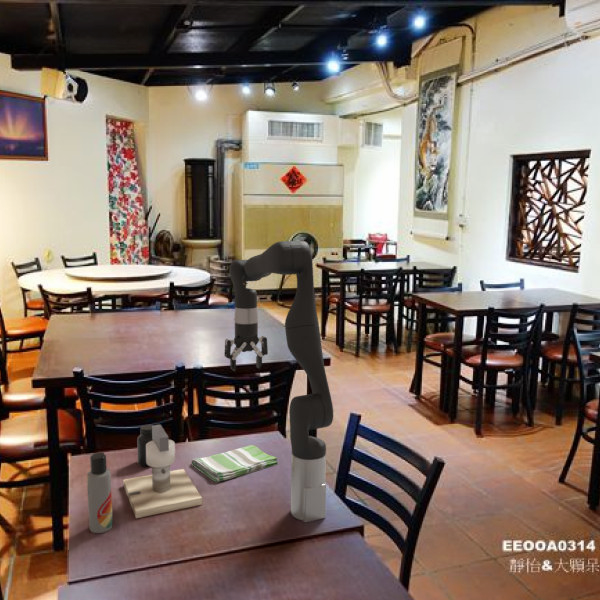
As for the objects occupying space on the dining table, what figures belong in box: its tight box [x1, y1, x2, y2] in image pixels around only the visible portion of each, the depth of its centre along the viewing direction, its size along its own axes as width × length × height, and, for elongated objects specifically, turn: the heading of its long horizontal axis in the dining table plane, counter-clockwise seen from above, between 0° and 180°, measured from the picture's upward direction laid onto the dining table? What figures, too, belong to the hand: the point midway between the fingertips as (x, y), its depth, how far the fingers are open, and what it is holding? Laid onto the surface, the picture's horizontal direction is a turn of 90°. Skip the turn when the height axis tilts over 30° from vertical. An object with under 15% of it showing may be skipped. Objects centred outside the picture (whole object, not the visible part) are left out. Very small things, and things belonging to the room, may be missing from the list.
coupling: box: [146, 424, 176, 468], centre depth 167 cm, size 10×8×9 cm
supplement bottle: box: [136, 424, 153, 468], centre depth 190 cm, size 7×7×12 cm
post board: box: [122, 465, 203, 519], centre depth 169 cm, size 20×18×10 cm
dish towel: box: [190, 444, 278, 483], centre depth 191 cm, size 17×23×4 cm
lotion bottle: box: [86, 451, 113, 534], centre depth 151 cm, size 6×6×20 cm
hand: (246, 369), depth 195 cm, fingers open, 8 cm apart
